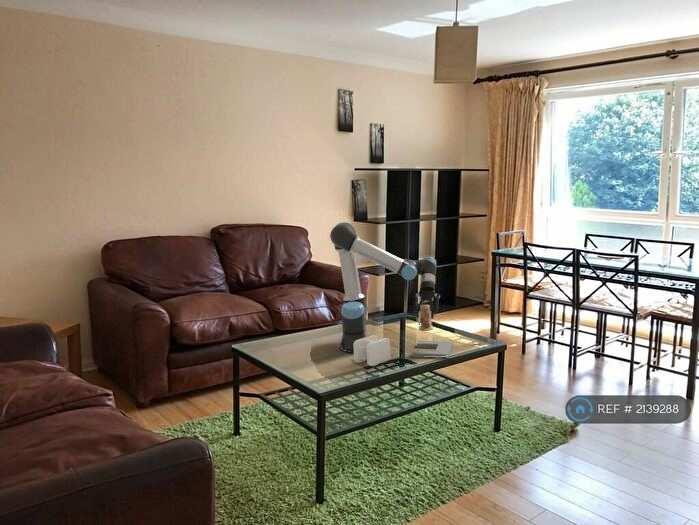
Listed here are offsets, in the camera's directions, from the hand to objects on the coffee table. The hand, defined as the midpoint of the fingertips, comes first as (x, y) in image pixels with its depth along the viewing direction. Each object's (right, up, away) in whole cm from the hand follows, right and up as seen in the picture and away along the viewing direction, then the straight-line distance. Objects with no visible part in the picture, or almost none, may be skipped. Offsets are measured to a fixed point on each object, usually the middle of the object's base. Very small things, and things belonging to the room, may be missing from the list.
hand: (424, 323), depth 285 cm
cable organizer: (-26, -18, -6) cm, 32 cm away
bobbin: (+1, -3, +4) cm, 5 cm away
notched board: (+5, -14, +5) cm, 16 cm away
